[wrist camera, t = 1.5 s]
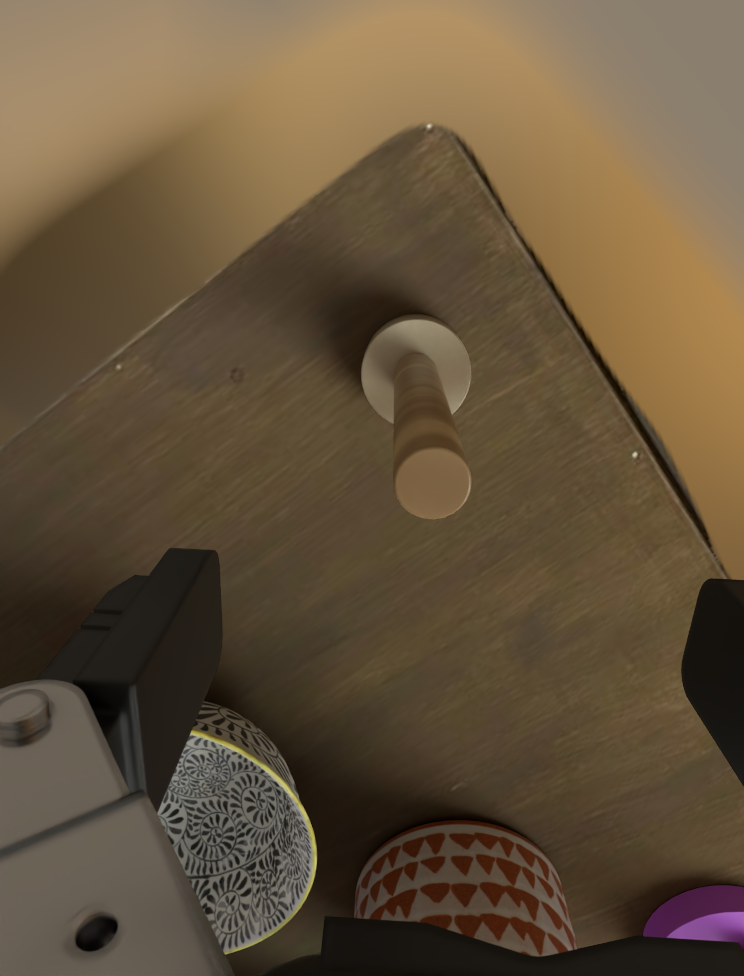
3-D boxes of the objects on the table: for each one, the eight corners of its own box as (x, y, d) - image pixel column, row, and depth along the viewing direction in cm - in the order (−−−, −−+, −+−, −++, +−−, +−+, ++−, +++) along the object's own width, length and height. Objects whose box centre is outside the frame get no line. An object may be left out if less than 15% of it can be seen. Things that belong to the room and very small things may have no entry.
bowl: (101, 600, 37) (32, 685, 30) (366, 687, 38) (360, 787, 31) (50, 801, 42) (-18, 913, 35) (284, 870, 44) (263, 990, 37)
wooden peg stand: (344, 344, 31) (299, 443, 16) (439, 294, 30) (482, 351, 16) (391, 434, 33) (389, 599, 18) (483, 389, 32) (561, 524, 17)
